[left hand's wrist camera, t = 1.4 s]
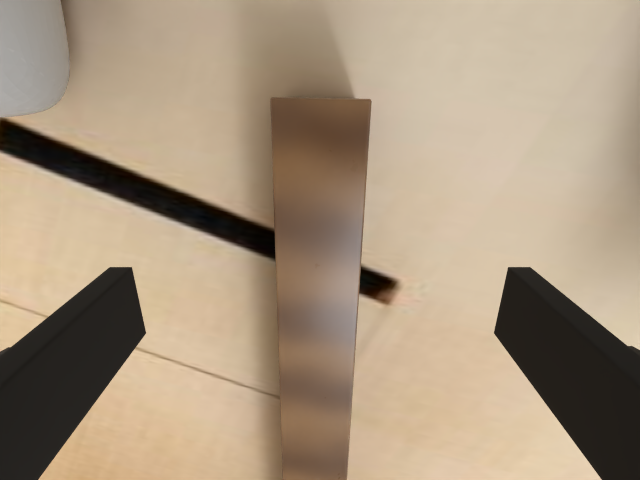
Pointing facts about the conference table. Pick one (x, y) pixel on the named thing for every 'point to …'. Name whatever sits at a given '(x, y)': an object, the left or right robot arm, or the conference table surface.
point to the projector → (32, 56)
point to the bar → (318, 274)
